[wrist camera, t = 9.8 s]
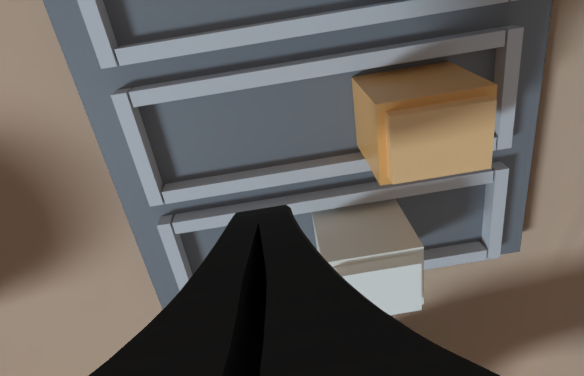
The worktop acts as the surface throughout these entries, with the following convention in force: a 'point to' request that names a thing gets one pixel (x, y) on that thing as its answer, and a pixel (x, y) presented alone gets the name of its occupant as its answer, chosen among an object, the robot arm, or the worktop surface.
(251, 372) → the robot arm
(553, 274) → the worktop surface
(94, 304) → the worktop surface
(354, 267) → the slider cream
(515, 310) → the worktop surface
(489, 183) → the panel
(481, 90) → the slider orange
